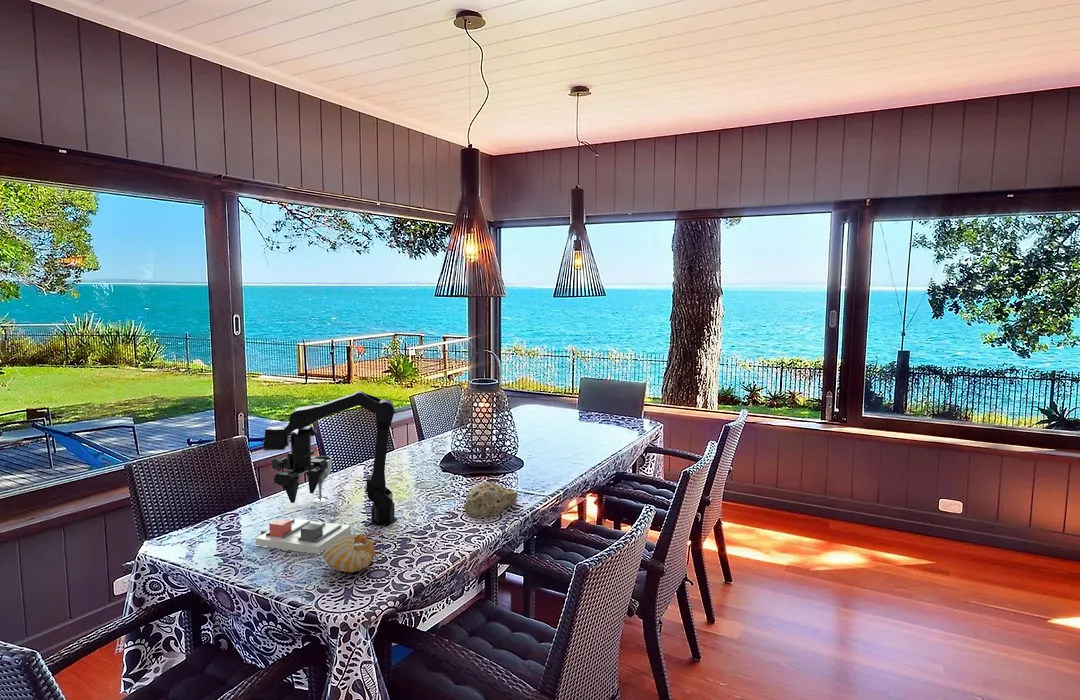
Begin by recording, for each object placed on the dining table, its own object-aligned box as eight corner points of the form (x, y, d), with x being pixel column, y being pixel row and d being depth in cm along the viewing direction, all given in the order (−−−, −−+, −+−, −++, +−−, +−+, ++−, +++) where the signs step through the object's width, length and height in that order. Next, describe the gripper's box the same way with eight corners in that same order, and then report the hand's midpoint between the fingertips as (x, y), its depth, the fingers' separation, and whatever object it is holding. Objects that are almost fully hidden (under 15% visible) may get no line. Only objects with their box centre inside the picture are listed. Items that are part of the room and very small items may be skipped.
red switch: (291, 531, 177) (291, 520, 176) (282, 536, 173) (282, 525, 173) (279, 530, 178) (278, 518, 178) (269, 535, 174) (269, 523, 174)
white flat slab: (350, 533, 182) (350, 523, 182) (318, 554, 167) (318, 543, 167) (278, 524, 189) (278, 514, 189) (241, 544, 174) (241, 533, 174)
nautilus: (368, 545, 175) (406, 559, 168) (307, 569, 156) (347, 586, 149) (370, 519, 175) (408, 532, 167) (309, 540, 156) (349, 556, 149)
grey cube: (322, 536, 173) (322, 524, 173) (314, 542, 170) (313, 530, 169) (309, 534, 174) (309, 523, 174) (300, 540, 171) (300, 528, 170)
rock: (483, 499, 217) (490, 473, 216) (517, 514, 211) (525, 488, 210) (453, 511, 198) (461, 483, 197) (490, 529, 192) (498, 500, 191)
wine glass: (307, 504, 207) (306, 462, 205) (309, 497, 214) (308, 456, 213) (331, 502, 209) (330, 461, 207) (333, 495, 216) (332, 455, 215)
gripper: (298, 439, 194) (299, 486, 196) (257, 454, 176) (259, 505, 178) (328, 442, 191) (329, 489, 193) (289, 457, 174) (290, 509, 175)
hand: (302, 497), depth 185 cm, fingers open, 9 cm apart
